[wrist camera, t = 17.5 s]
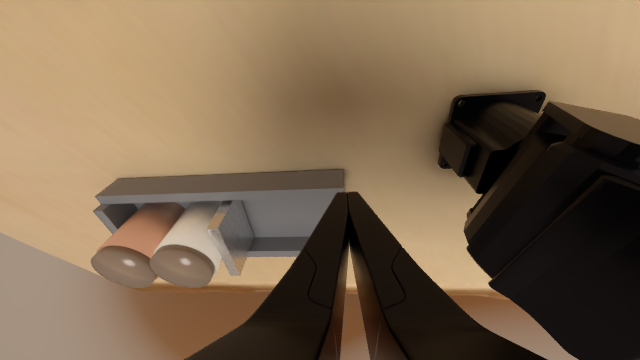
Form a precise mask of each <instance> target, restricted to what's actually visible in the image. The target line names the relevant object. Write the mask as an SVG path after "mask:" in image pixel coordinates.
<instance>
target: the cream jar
mask: <svg viewBox="0 0 640 360" xmlns="http://www.w3.org/2000/svg"><path fill="white" fill-rule="evenodd" d="M221 203H222V201H192V202H191V203H190V205H189V206H188V207H187V208H186V210H185V211H184V212H183V214H182V215H181V216H180V218H179V219H178V220H177V222H176V223H175V224H174V226H173V227H172V228H171V230H170V231H169V232H168V233H167V235H166V236H165V237H164V239H163V240H162V241H161V243H160V244H159V245H158V247H157V248H156V249H155V251H154V255H153V256H152V258H151V259H150V267H151V269H152V270H153V272H154V273H155V274H156V275H157V276H159V277H160V278H162V279H163V280H165V281H167V282H169V283H172V284H174V285H178V286H182V287H188V288H197V287H203V286H205V285H207V284H208V283H209V282H210V281H211V279H212V277H213V276H214V275H215V274H216V272H217V270H218V267H219V265H220V263H221V261H222V258H221V256H220V254H219V252H218V250H217V248H216V246H215V244H214V242H213V240H212V239H211V237H210V235H209V233H208V231H207V229H206V228H207V227H208V225H209V223H210V222H211V220H212V218H213V217H214V215H215V213H216V212H217V210H218V208H219V206H220V205H221Z"/></svg>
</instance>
